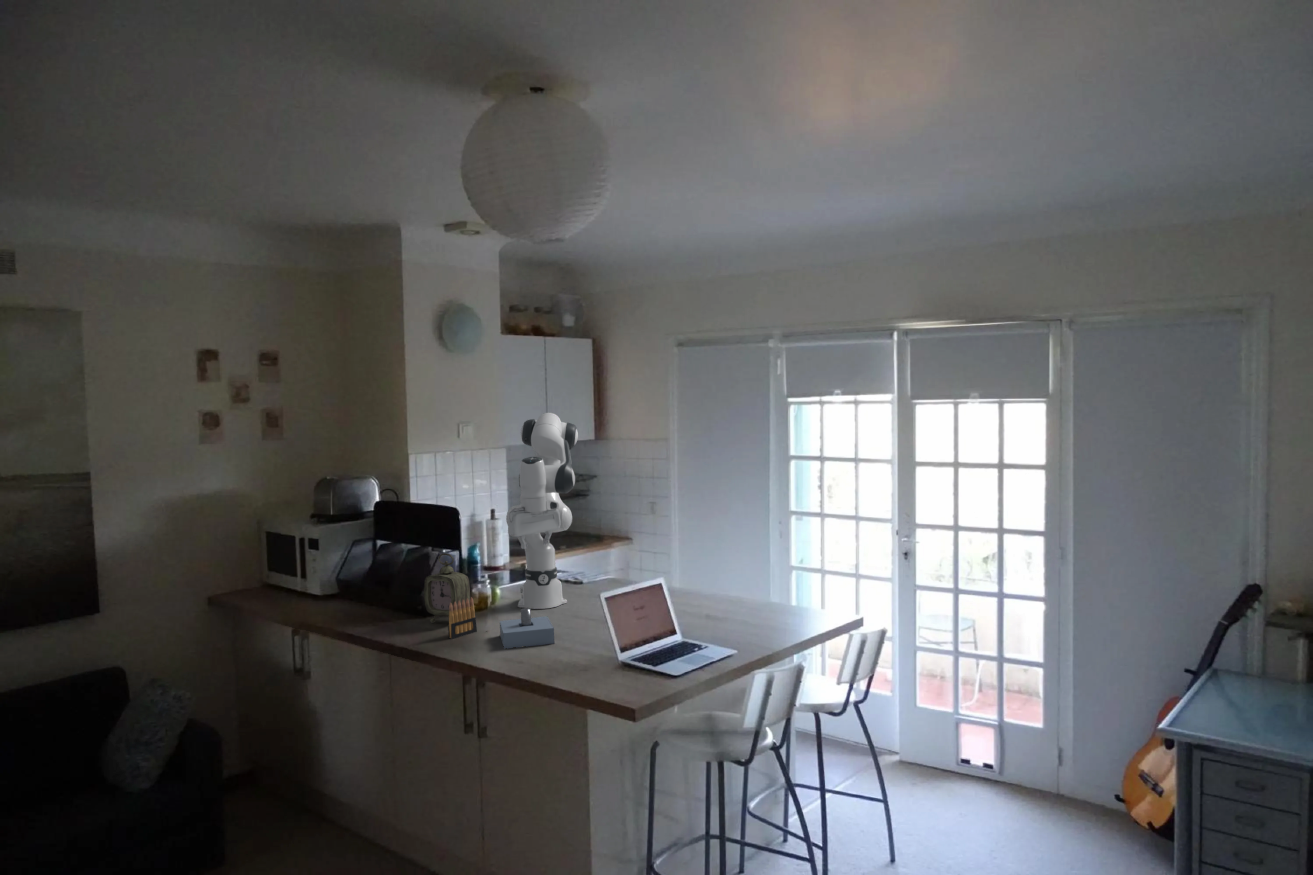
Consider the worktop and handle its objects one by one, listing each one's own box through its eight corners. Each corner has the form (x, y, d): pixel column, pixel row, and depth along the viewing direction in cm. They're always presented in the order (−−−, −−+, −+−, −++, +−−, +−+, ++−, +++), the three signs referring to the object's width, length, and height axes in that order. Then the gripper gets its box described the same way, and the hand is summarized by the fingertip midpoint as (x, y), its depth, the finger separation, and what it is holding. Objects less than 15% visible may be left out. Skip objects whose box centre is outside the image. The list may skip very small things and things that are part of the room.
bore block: (500, 635, 284) (499, 620, 284) (547, 630, 288) (547, 616, 288) (504, 648, 269) (503, 633, 269) (554, 643, 273) (553, 627, 273)
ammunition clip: (451, 639, 282) (450, 603, 282) (448, 638, 284) (446, 602, 283) (477, 631, 291) (475, 596, 290) (473, 630, 292) (472, 596, 291)
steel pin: (520, 639, 279) (519, 609, 279) (529, 637, 281) (527, 607, 281) (524, 641, 276) (523, 610, 276) (533, 639, 278) (532, 609, 278)
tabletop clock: (425, 623, 304) (422, 554, 303) (442, 617, 312) (439, 549, 311) (456, 627, 297) (453, 556, 296) (473, 621, 305) (470, 552, 304)
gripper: (515, 509, 276) (517, 551, 277) (562, 502, 291) (564, 542, 292) (503, 508, 280) (504, 550, 281) (550, 501, 295) (552, 541, 296)
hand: (535, 546), depth 286 cm, fingers open, 8 cm apart
